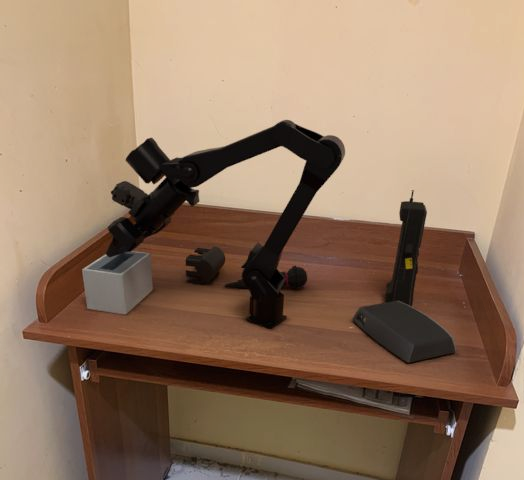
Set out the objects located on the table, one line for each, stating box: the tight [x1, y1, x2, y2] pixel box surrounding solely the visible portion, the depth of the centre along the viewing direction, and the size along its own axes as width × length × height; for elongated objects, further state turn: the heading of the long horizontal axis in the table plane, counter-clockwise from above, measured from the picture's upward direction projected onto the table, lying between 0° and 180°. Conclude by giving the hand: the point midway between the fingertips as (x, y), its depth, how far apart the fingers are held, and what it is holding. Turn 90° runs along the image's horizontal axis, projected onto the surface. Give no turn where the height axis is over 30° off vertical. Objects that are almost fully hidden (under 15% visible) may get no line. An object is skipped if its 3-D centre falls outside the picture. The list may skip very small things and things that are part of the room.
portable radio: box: [384, 189, 428, 307], centre depth 116 cm, size 8×6×25 cm
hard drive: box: [352, 301, 457, 363], centre depth 106 cm, size 13×19×4 cm
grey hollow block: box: [81, 250, 154, 315], centre depth 115 cm, size 9×14×9 cm
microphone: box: [224, 265, 308, 291], centre depth 125 cm, size 6×6×20 cm
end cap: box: [185, 245, 226, 285], centre depth 129 cm, size 10×7×7 cm
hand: (118, 248), depth 111 cm, fingers open, 9 cm apart
